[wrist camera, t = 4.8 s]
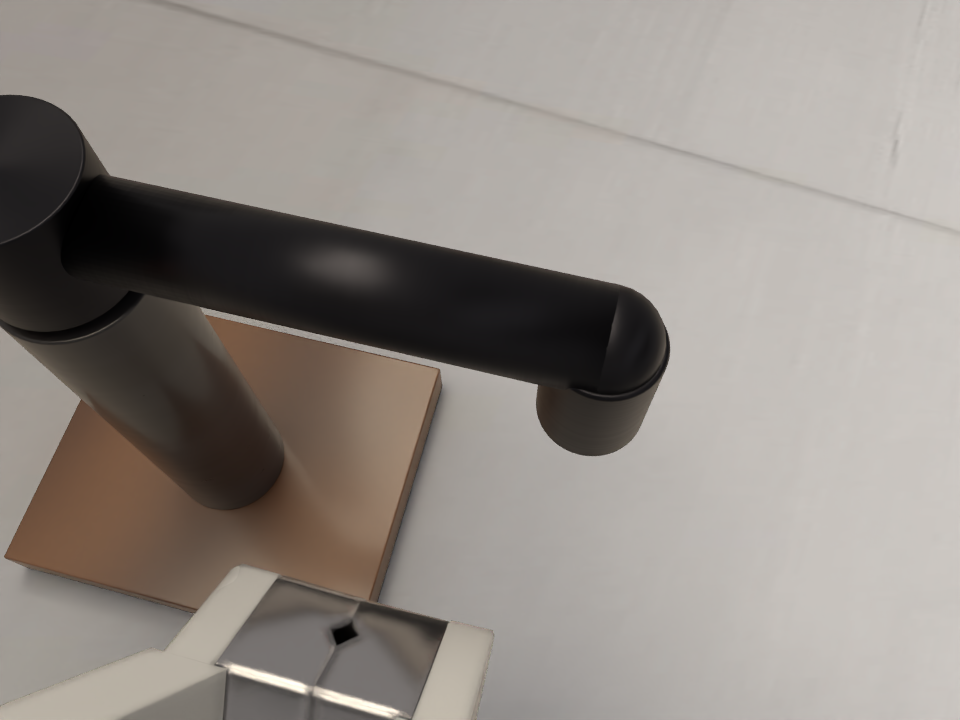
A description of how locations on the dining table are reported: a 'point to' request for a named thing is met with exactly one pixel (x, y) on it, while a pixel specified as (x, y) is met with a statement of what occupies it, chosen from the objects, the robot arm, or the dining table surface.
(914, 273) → the dining table surface
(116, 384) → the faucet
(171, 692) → the robot arm
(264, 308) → the spout
